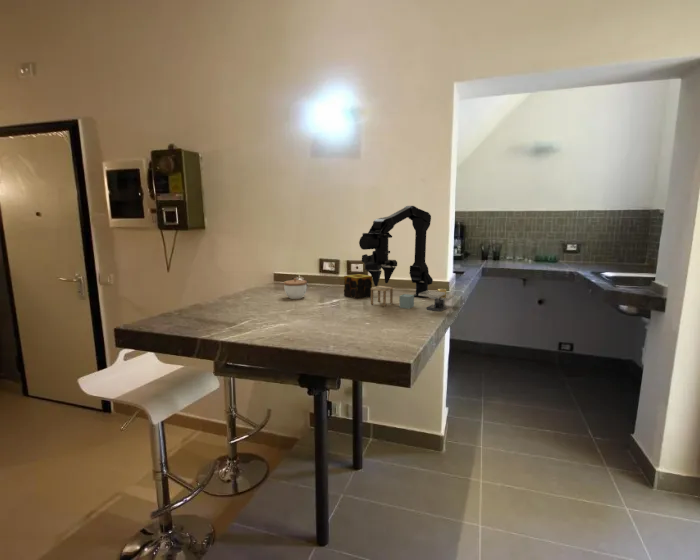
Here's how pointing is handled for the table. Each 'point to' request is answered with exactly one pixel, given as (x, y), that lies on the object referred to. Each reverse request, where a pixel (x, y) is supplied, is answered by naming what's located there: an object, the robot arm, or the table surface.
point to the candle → (357, 286)
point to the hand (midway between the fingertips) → (381, 284)
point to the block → (406, 301)
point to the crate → (384, 289)
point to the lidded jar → (295, 288)
